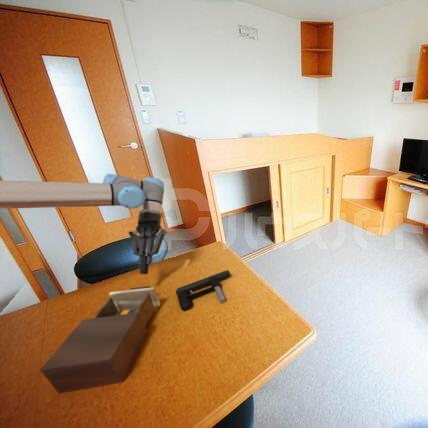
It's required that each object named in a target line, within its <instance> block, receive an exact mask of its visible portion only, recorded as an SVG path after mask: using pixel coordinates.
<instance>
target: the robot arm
mask: <svg viewBox="0 0 428 428" xmlns="http://www.w3.org/2000/svg"><path fill="white" fill-rule="evenodd" d="M164 193H165V182H164V181H163V180H162V179H160V178H157V177H151V176H150V177H145V178H144V179H143V180H138V179H136V178H131V177H128V176H123V175H120V174H114V173H106V174H105V176H104V178H103V180H102V182H101V183H100V182H68V181H66V182H65V181H62V182H61V181H35V180H34V181H32V180H30V181H29V180H28V181H26V180H0V210H7V209H8V210H10V209H39V208H41V209H42V208H44V209H45V208H47V209H48V208H77V207H78V208H80V207H113V206H114V207H117V206H118V207H119V206H120V207H121V206H122V207H123V208H126V209H129V210H130V209H131V210H132V209H133V210H134V209H139V210H138V213H139V214H138V218H137V226H136V227H135V229H134V230H132V231H131V230H129V231H128V235H129V236H130V239H131V240H130V241H131V246H132V254H133V255H135V256H138V263H137V264H138V266H140V267H139V274H141V275H148V274H149V267H150V265H152V263H153V256H154V255H158V254H159V252H160V249H161V246H162V243H163V241H164V238H165V236H166V234H167V233H168V230H167V229H165V228H162V226H161V223H162V214H163V213H162V212H163V203H164V202H163V201H164ZM138 236H139V237H138ZM139 238H140V241H139Z"/></svg>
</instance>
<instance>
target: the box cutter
mask: <svg viewBox="0 0 428 428" xmlns="http://www.w3.org/2000/svg"><path fill="white" fill-rule="evenodd" d="M136 310H137V309H133V310H123V311H118V312H117V313H116V315H123V314H131V313H135V311H136Z"/></svg>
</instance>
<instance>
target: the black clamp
mask: <svg viewBox="0 0 428 428" xmlns="http://www.w3.org/2000/svg"><path fill="white" fill-rule="evenodd" d="M230 276H231V272H230V270H229V269H227V270H223V271H219V272H218V273H215V274H213V275H209V276H207V277H204V278H202V279H199V280H196V281H194V282H191V283H188V284H186V285H182V286H179V287H178V288H177V289H176V290H175V295H176V296H177V300H178V303H179V304H178V305H179V307H180V310H181V311H187V310H190V309H191V308H192V307H193V300H195V299H197V298H201V297H203V296H205V295H208V294H210V293H215V292H216V296H217V297H218V300H219V302H220V304H224V303H226V302H227V301H226V297H225V295H224V293H223V291H222V285H221V283H220V282H221V281H222V280H224V279H227V278H229V277H230ZM209 285H210V287H207V286H209ZM204 287H207V288H205V289H204ZM201 288H203V289H202V290H199V289H201ZM196 290H199V291H197V292H195V291H196ZM190 293H191V294H190Z"/></svg>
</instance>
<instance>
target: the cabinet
mask: <svg viewBox="0 0 428 428" xmlns="http://www.w3.org/2000/svg"><path fill="white" fill-rule="evenodd" d="M148 333H149V332H148V330H147V328H146V326H144V324H143V321H142V319H141V317H140V314H139V312H138V313H131V314H123V315H115V316H107V317H100V318H93V317H91V318H86V319H82V320H81V321H80V322H79V324H78V325H76V327H75V328H74V329H73V330H72V332H71V333H70V334H69V335H68V336H67V337H66V338H65V340H64V341H63V342H62V343H61V344H60V346H59V347H57V349H56V351H55V352H54V353H53V354H52V355H51V356H50V358H49V359H48V360H47V361H46V363H45V364H43V366H42V367H41V368H40V369H39V371H40V372H41V373H42V374H43V376H44V377H45V378H46V379H47V381H48V382H49V383H50V385H51V386H52V387H53V388H54V390H55V391H56V392H57V394H64V393H69V392H75V391H80V390H86V389H91V388H97V387H98V388H99V387H103V386H108V385H109V386H110V385H115V384H120V383H124V382H125V380H126V378H127V377H128V375H129V372H130V370H131V369H132V366H133V364H134V363H135V360H136V358H137V357H138V355H139V353H140V351H141V349H142V347H143V345H144V343H145V341H146V339H147V338H148V335H149V334H148Z"/></svg>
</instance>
